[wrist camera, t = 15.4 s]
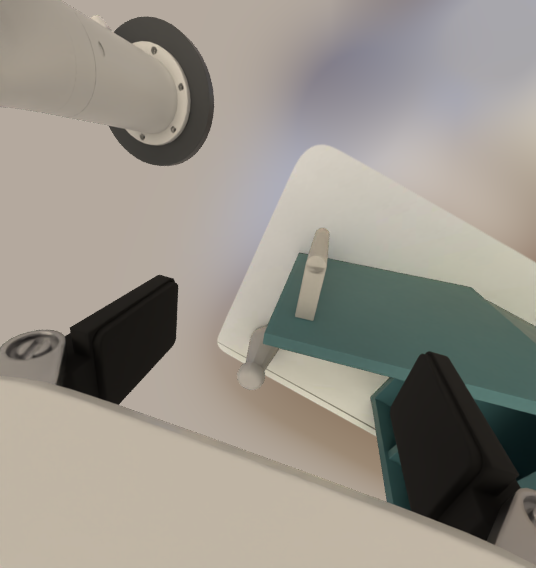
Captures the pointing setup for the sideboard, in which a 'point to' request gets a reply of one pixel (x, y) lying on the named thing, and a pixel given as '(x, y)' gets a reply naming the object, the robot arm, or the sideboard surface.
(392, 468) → the box
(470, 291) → the fridge door
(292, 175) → the sideboard surface
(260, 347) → the salt shaker
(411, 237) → the sideboard surface
